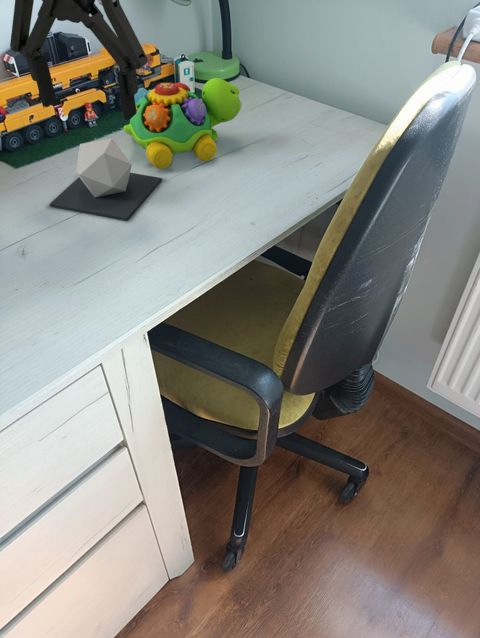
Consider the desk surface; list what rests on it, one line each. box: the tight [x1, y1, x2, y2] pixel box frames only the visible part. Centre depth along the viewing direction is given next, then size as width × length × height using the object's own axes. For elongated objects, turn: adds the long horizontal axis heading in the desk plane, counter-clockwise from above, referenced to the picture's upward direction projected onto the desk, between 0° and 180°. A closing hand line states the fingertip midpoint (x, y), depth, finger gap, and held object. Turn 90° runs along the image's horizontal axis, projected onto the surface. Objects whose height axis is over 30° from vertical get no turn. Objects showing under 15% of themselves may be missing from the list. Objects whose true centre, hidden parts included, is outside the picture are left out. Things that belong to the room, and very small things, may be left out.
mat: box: [49, 172, 163, 222], centre depth 88 cm, size 14×14×1 cm
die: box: [75, 137, 133, 198], centre depth 85 cm, size 8×9×10 cm
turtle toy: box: [123, 77, 242, 170], centre depth 97 cm, size 17×23×12 cm
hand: (89, 110), depth 79 cm, fingers open, 13 cm apart
